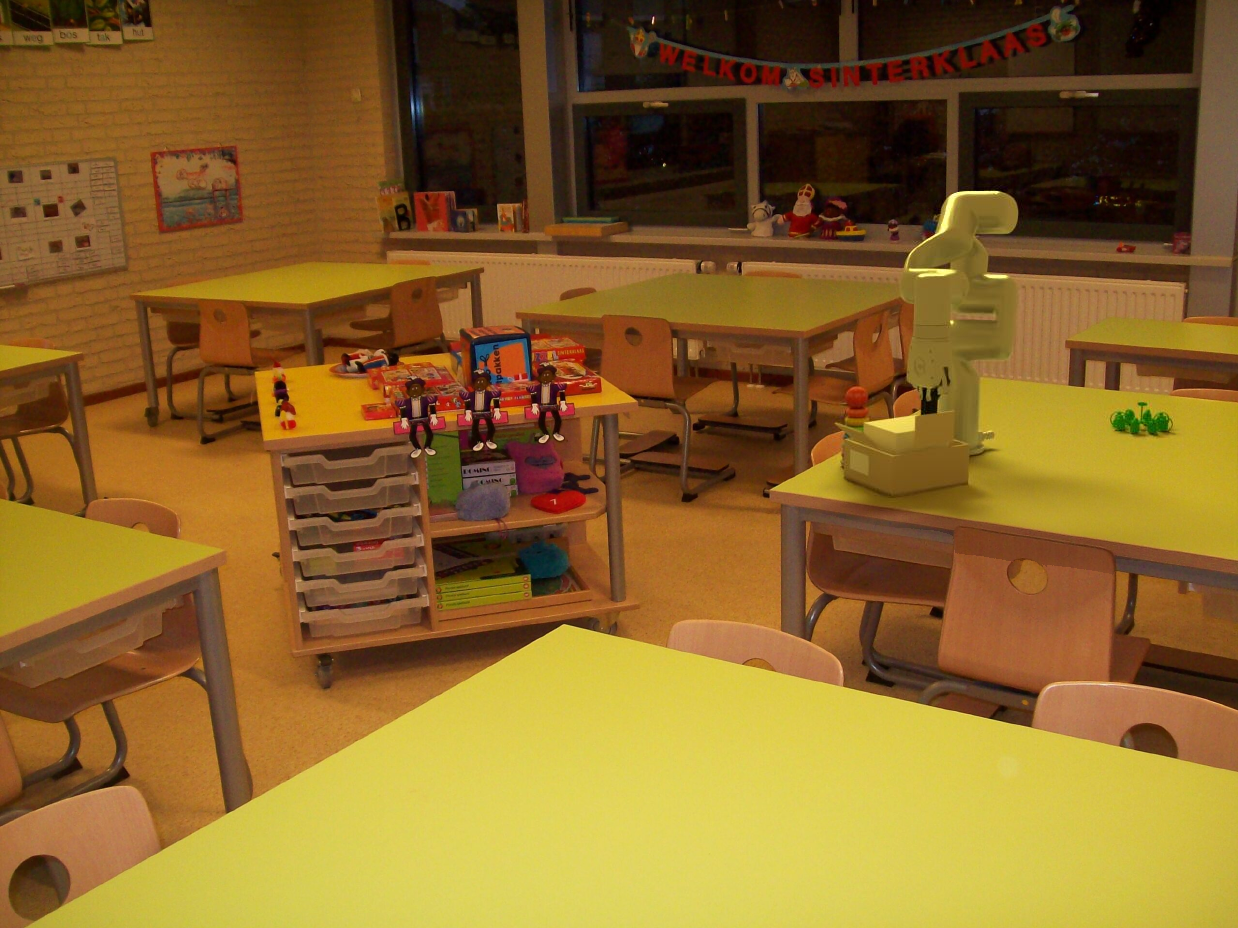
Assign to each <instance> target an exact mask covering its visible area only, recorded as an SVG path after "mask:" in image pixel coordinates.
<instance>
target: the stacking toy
mask: <svg viewBox="0 0 1238 928" xmlns="http://www.w3.org/2000/svg"><path fill="white" fill-rule="evenodd" d="M868 400H869V394H868V392H867V391H866V389H864V388H863V387H860V386H853V387H850V388H849V390H847V392H846V394H845V402H846V403H847V405H848V407H847V408H846V410H845V414H846V415H847V416H846V417H845V418H844V422H845V426H848V427H851V428H854V429H857V430H860V431H862V432H864V423H865V422H870V418H869V417H868V414H869V409H868V408H867V407H866V404H867V403H868ZM849 438H851V437H850V436H849V435H848V434H847V433H844V434H843V437H842V439H843V440H844V439H849ZM840 455H841V457H842V458H841V459H840V466H842V467H843V468H844V441H843V442H842V451H841V453H840Z"/></svg>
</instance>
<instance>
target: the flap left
mask: <svg viewBox="0 0 1238 928" xmlns="http://www.w3.org/2000/svg"><path fill="white" fill-rule="evenodd" d="M954 419H955V411H947V412H940V413H938V412H937V413H934V414H927V415H921V414H920V415H917V416H915V433H914V448H917V447H923V446H930V445H936V444H942V443H949V442H954Z"/></svg>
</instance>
